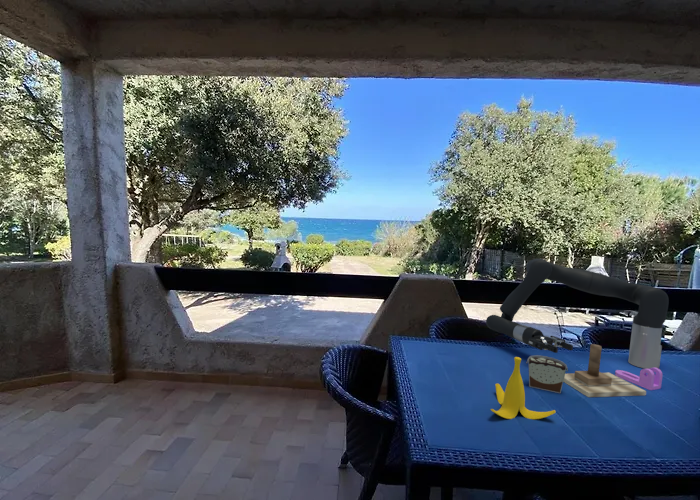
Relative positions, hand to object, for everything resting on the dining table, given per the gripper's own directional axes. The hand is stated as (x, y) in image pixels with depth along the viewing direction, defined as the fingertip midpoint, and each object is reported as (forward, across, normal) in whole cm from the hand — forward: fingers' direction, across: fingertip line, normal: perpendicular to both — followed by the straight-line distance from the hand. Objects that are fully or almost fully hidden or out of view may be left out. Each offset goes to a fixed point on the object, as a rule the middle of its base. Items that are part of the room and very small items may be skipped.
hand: (564, 349), depth 128 cm
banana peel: (+14, -43, +10) cm, 46 cm away
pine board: (+12, +3, +10) cm, 15 cm away
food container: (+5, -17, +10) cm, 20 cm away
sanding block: (+11, 0, +8) cm, 13 cm away
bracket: (+13, +21, +10) cm, 27 cm away
